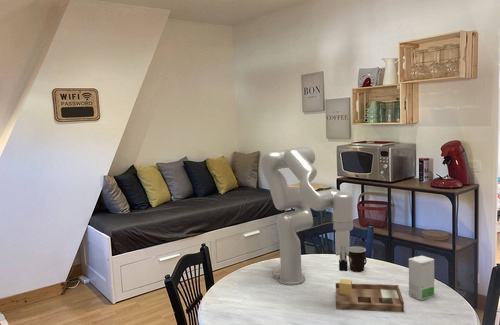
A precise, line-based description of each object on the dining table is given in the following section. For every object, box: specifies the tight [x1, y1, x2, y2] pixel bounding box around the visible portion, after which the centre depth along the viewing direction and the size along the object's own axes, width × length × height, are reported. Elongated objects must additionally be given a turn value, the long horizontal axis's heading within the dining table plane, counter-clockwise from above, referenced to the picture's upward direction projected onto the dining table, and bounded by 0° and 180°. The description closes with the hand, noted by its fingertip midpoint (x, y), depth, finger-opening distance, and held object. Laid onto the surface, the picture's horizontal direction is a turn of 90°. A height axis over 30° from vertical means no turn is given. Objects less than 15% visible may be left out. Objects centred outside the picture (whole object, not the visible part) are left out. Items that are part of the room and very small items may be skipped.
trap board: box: [335, 282, 405, 313], centre depth 168 cm, size 25×15×4 cm, turn 78°
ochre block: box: [338, 278, 353, 295], centre depth 172 cm, size 4×4×4 cm
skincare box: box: [408, 255, 435, 301], centre depth 170 cm, size 8×7×16 cm
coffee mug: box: [347, 246, 367, 273], centre depth 200 cm, size 12×9×10 cm
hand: (343, 270), depth 165 cm, fingers closed
